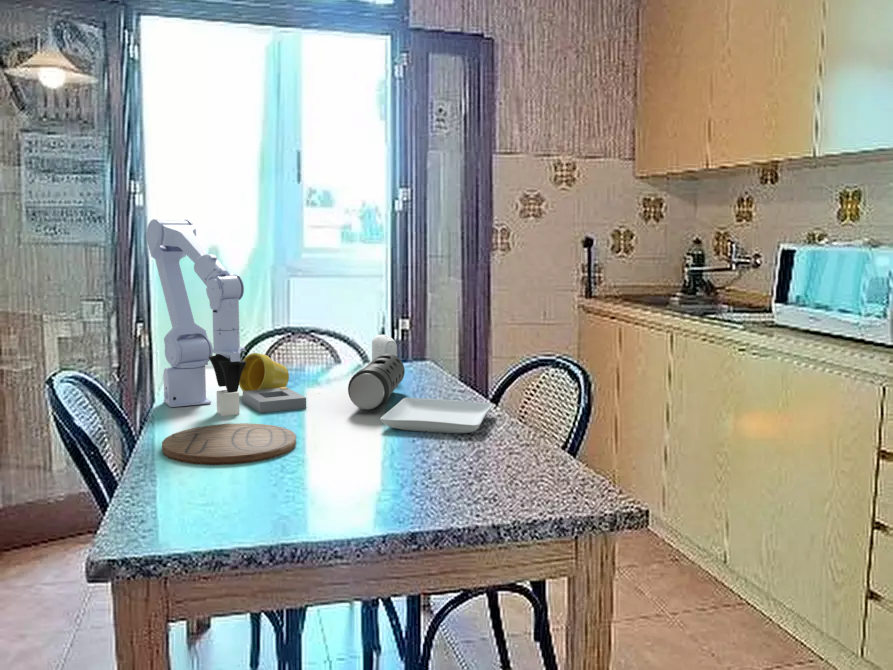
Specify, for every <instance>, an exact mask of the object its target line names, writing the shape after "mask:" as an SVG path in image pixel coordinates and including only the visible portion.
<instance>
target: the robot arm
mask: <svg viewBox="0 0 893 670" xmlns="http://www.w3.org/2000/svg"><path fill="white" fill-rule="evenodd" d="M196 228H197V227H196V226H195V225H194V224H193V222H192V221H191V220H190V219H184V220H181V219H180V220H179V219H170V220H169V219H156V218H155V219H154V218H153V219H151V220H150V221H149V223H148V225H147V229H146V232H145V237H146V241H147V246H148V250H149V253H150V257H151V258H153V259H154V260H155V265H156V268H157V273H158V277H159V280H160V284H161V285H160V286H161V287H162V292H163V297H164V300H165V301H164V302H165V304H166V308H167V311H168V316H169V320H170V324H171V327H172V328H170V330H169V331H168V332H167V333H166V334H165V336H164V337H163V342H164V356H165V359H166V361H167V363H168V364H169V365H170V367H166V368H164V370H163V401H164V403H165V404H167V406H168V407H169V408H175V407H188V406H196V405H197V406H198V405H199V406H200V405H207V404H211V403H212V401H211V400H210V399H208V398H207V389H206V388H207V384H206V382H207V381H206V380H207V379H206V366H208V365H209V362H210V363H211V365H212V367H213V370H214V374H215V377H216V383H217V385H218V387H219V388H221V387H225V388H226V389H225V390H227V392H228V393H229V392H238V391H239V388H240V386H239V382H240V377H241V374H242V371H243V369H244V367H245V365H246V361H243V360H241V352H245V351H246V347H243V346H240V345H241V344H240V343H241V342H240V341H241V340H240V339H241V338H240V337H241V336H240V305H239V304H240V303H239V301H240V300H241V299H242V298H243V296H244V293H245V286H244V282H243V279H242V278H241V276H240V275H239V274H234V273H232V272H229V271H228V270H227V268H225V266H224V265H223V264H222V262H221V261H219V259H218V256H216V254H212V253H207V252H206V250H205V249H204V247H203V246H202V244H201V243H200V241H199V239H198V238H197V230H196ZM186 256H187V257H188V258H189V259H190V261H192V262H193V263H194V264H193V271H194V272H195V273H196V275H197V276H198V277H199V278H200V280H201V281H202V283H203V284H204V285H205V286H206V289H205V290H206V291H205V292H206V295H207V299H208V300H209V307H210V309H211V312H212V337H213V339H212V340H213V343H212V342H211V339H209V337H208V335H207V330H205V329H204V327H201V326H200V325H199V324H196V323H195V319H194V314H193V312H192V308H191V303H190V301H189V296H188V292H187V288H186V284H185V280H184V277H183V274H182V272H183V271H182V268H181V265H180V261H181V260H182V259H183V258H185V257H186ZM213 354H215V355H213Z"/></svg>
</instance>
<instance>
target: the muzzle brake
mask: <svg viewBox="0 0 893 670" xmlns="http://www.w3.org/2000/svg"><path fill="white" fill-rule="evenodd" d="M381 364H383V365H381ZM405 372H406V371H405V365H404V363H403V361H402V360H401V358H399V357H398V355H397V356H395V355H392V354H382V355H380V356H378V357H377V358H375V359H374V360H373V361H372V360H371V361H370V363H368V364H367V365H366V366H365V367H363V368H362V369H359V370H358V371H357V372H356V373H354V374H353V376H352V377H351V378H350V380H349V382H348V384H347V385H348V386H347V392H348V396H349V399H350V401H351V402H352V403H353V404H354V406H356V407H357V408H358V409H360V410H364V411H374V410H377V409H379V408H381V407H382V406H384V405H385V404H386V402H387V401H388V400H389V399H390V397H391V394H392V393H393V392H394V390H395V389H397V387H398V386H399V385H400V384H401V382H402V381H403V379H404V377H405V374H406V373H405Z"/></svg>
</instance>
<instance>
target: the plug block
mask: <svg viewBox="0 0 893 670" xmlns="http://www.w3.org/2000/svg"><path fill="white" fill-rule="evenodd" d="M216 413H217V414H218V415H220V416H221V417H225V416H233V415H235V416H236V415H240V392H238V391H237V392H229V393H228V392H227V389H223V390H222V389H221V390H216Z"/></svg>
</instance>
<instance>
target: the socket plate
mask: <svg viewBox="0 0 893 670" xmlns="http://www.w3.org/2000/svg"><path fill="white" fill-rule="evenodd" d="M242 402H243V403H245V404H246V405H248V406H249V407H251V408H252V409H254V410H255V411H257V412H259V413H261V414H262V413H270V412H271V413H272V412H280V411H289V410H290V411H291V410H302V409H307V397H306V396H304V395H302V394H300V393H299V392H296V391H294V390H292V389H290V388H289V387H287V386H286V387H281V388H272V389H261V390H249V391H242Z"/></svg>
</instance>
